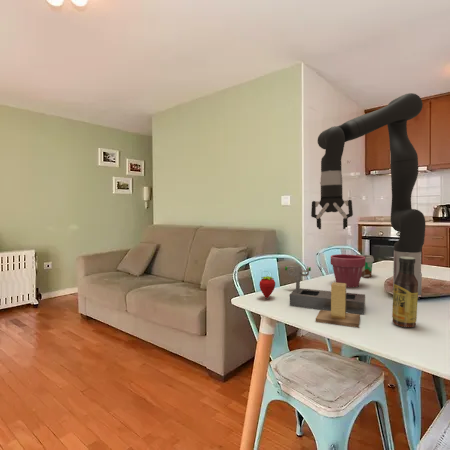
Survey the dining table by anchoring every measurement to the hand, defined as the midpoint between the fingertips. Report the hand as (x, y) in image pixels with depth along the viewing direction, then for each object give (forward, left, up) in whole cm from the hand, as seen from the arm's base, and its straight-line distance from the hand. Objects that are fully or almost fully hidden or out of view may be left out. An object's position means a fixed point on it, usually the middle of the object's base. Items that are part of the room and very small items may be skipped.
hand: (331, 229), depth 119 cm
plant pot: (-4, -26, -27) cm, 38 cm away
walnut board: (-5, +21, -26) cm, 34 cm away
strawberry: (+22, +7, -27) cm, 35 cm away
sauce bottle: (-23, +18, -27) cm, 39 cm away
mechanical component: (+14, -9, -27) cm, 32 cm away
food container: (-11, -49, -27) cm, 57 cm away
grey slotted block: (0, +8, -26) cm, 27 cm away
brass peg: (-5, +21, -25) cm, 33 cm away
